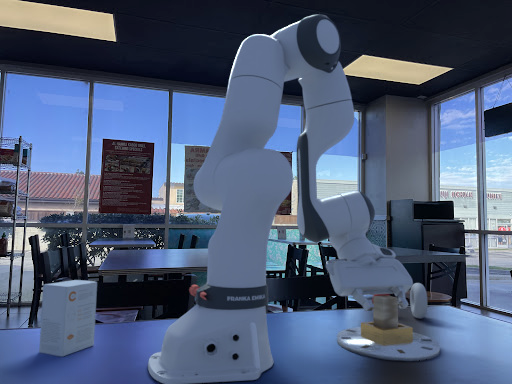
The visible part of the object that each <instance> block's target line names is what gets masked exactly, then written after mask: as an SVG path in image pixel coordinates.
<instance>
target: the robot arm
mask: <svg viewBox="0 0 512 384" xmlns="http://www.w3.org/2000/svg"><path fill="white" fill-rule="evenodd" d="M341 47H342V44H341V34H340V31H339V29H338V27H337V25H336V23H335V22H334V21H333V20H332V19H330V18H329V17H328V16H327V15H325V14H320V13H319V14H312V15H309V16H306V17H303V18H302V19H301V20H299V21H297V22H294V23H292V24H289V25H288V26H285V27H282V28H281V29H278V30H277V31H275V32H274V33H273V34H271V35H267V34H264V33H263V34H258V33H257V34H252V35H250V36H248V37H247V38H245V39H244V40H243V41H242V42H241V44H240V46H239V48H238V50H237V53H236V55H235V57H234V58H235V59H234V61H233V65H232V68H231V71H230V75H229V79H228V84H227V89H226V90H227V91H226V94H225V99H224V104H223V110H222V115H221V119H220V122H219V124H218V127H217V130H216V132H215V135H214V137H213V139H212V142H211V144H210V147H209V149H208V152H207V154H206V157H205V159H204V161H203V163H202V164H201V166H200V168H199V169H198V170H197V172H196V174H195V176H194V178H193V183H192V184H193V191H194V194H195V197H196V198H197V200H198V201H199V202H200V203H201V204H202V205H204V206H206V207H209V208H211V209H213V210H216V211H220V214H219V215H220V216H219V219H218V222H217V226H216V228H215V230H214V232H213V234H212V235H211V237H210V239H209V241H208V244H207V269H206V270H207V271H206V272H207V273H206V276H207V277H206V283H204V284H203V285H202V286H199V285H197V284H192V285H191V287H189V289H188V291H189V293H190V295H191V296H193V297H195V305H194V306H193V307H191V308H190V309H189V310H188V311H187V312H186V313H184V314H183V315H182V316H180V317H179V318H178V319H177V320H175V321H174V322H173V323H172V324H170V325H169V326H168V327H167V329H166V331H165V333H164V337H163V340H162V344H161V345H162V346H161V351H158V352H155V353H153V354H152V355H151V356H150V357H149V359H148V363H147V369H148V372H149V375H150V376H151V377H152V378H153V379H154V380H156V381H157V382H158V383H162V384H202V383H203V384H204V383H219V382H220V383H221V382H222V383H224V382H225V383H226V382H240V381H254V380H259V378H260V377H261V375H262V374H263V372H265V371H267V370H269V369H270V368H272V367H273V364H274V358H273V355H272V351H271V346H270V341H269V333H268V325H267V324H268V323H267V322H268V321H267V314H268V311H269V309H268V308H269V285H268V284H267V282H266V281H267V255H268V253H267V252H268V251H267V250H268V243H269V237H270V232H271V229H272V226H273V223H274V220H275V218H276V217H275V216H276V214H277V212H278V210H279V208H280V207H281V204H282V203H283V202H284V201H285V199H287V197H288V196H289V194H290V193H291V191H292V187H293V183H294V173H293V170H292V169H293V168H292V166H291V164H290V162H289V160H288V159H287V157H286V156H285V155H284V154H282V153H281V152H280V151H278V150H276V149H271V148H265V147H266V145H267V144H268V142H269V141H270V139H271V138H272V137H273V136H274V134H275V133H276V130H277V127H278V121H279V116H280V111H281V110H280V109H281V106H282V97H283V91H284V83H285V82H288V81H292V80H296V79H297V81H298V83H299V84H300V86H301V89H302V97H303V99H302V100H303V104H304V105H303V106H304V111H305V124H304V125H305V126H304V129H303V132H302V133H301V134H299V136H298V137H297V142H296V186H297V187H296V188H297V189H296V190H297V207H296V224H297V228H298V231H299V234H300V236H301V237H303V238H304V239H306V240H308V241H310V242H312V243H315V244H317V243H320V242H322V241H326V240H328V241H329V242H330V245H331V247H333V248H334V249H335V251H336V255H337V258H338V259H336V258H335V259H333V258H330V259H328V260H327V261H326V263H325V268H326V270H327V272H328V274H329V278H330V282H331V284H332V287H333V290H334V292H335V294H337V295H338V296H340V297H352V298H353V300H355V301H356V302H357V303H358V304H359V305H361V306H362V308H363V310H364V311H365V312H372V311H373V308H374V305H373V303H372V299H368V298H367V297H366V296H370V295H371V296H372V295H373V296H374V294H389V295H391V294H392V295H393V294H394V297H397V298H398V309H407V308H408V306H409V302H408V300H407V299H406V293H407V292H409V290H411V287H412V285H413V284H414V282H413V278H412V276H411V275H410V274H409V272H408V270H407V269H406V268H405V266H404V264H402V263H401V262H400V260H398V259H396V258H397V257H396V256H397V254H396V253H395V251H393V250H392V249H389V248H385V247H382V246H380V245H377V244H374V243H372V242H371V240H369V239H368V238H367V235H366V233H368V232H369V230H370V229H371V226H372V224H373V222H374V220H375V216H376V215H375V214H376V212H375V211H376V210H375V208H374V205H373V203H372V201H371V200H370V198H369V197H368V195H366V193H364V192H362V191H360V190H359V189H356V190H349V191H346V192H340V193H337V194H334V195H329V196H327V197H326V196H325V197H321V198H318V197H317V195H318V194H317V193H318V192H317V164H318V162H319V160H320V158H321V157H322V155H323V154H325V153H326V152H327V151H328V150H330V149H331V148H333V147H335V146H336V145H337V144H339V143H341V141H343V139H345V138H346V137H347V136H348V134H349V133H350V132H351V130H352V129H353V126H354V123H355V110H354V103H353V100H352V99H353V98H352V93H351V88H350V85H349V82H348V79H347V76H346V73H345V71H344V69H343V66H342V64H341V62H340V61H339V60H340V53H341Z"/></svg>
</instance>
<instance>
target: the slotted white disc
mask: <svg viewBox="0 0 512 384" xmlns="http://www.w3.org/2000/svg"><path fill="white" fill-rule="evenodd" d="M336 339H337V340H336V341H337V344H338V345H339V346H340V347H341V348H343V349H344V350H347V351H349V352H351V353H354V354H358V355H360V356H364V357H368V358H373V359H379V360H386V361H398V362H417V361H418V362H419V360H420V361H426V359H427V360H430V359H434V358H435V357H438V356H439V355H440V343H439V342H437V341H436V340H435V339H433V338H432V337H429V336H427V335H424V334H421V333H419V332H415V331H413V326H410V325H406V324H403V323H400V322H398V328H387V329H382V328H379V327H377V326H374V320H373V321H362V322H360V326H358V327H357V326H356V327H350V328H345V329H342V330H341V331H339V332H338V333H337V336H336Z"/></svg>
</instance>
